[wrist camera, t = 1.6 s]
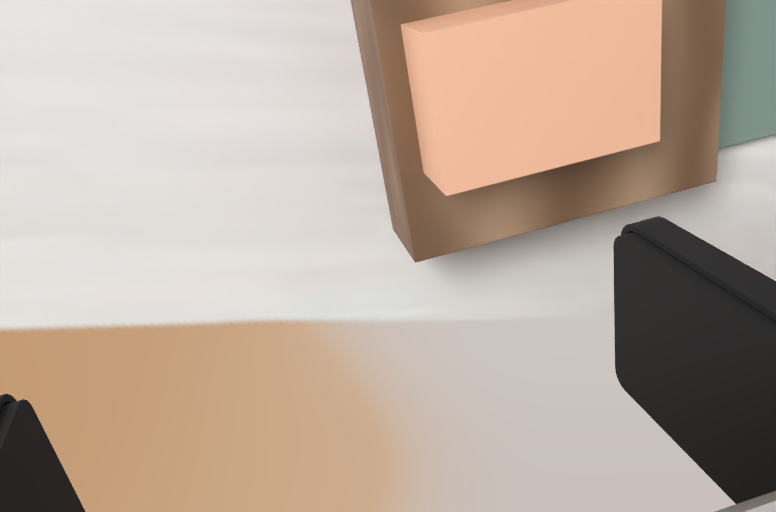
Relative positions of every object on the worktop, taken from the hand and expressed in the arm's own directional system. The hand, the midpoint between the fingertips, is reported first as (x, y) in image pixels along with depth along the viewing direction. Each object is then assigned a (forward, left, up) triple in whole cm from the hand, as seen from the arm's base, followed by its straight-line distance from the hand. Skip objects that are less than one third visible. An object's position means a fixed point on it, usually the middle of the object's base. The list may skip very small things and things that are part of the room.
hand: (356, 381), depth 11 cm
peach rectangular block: (-10, 0, -17) cm, 20 cm away
